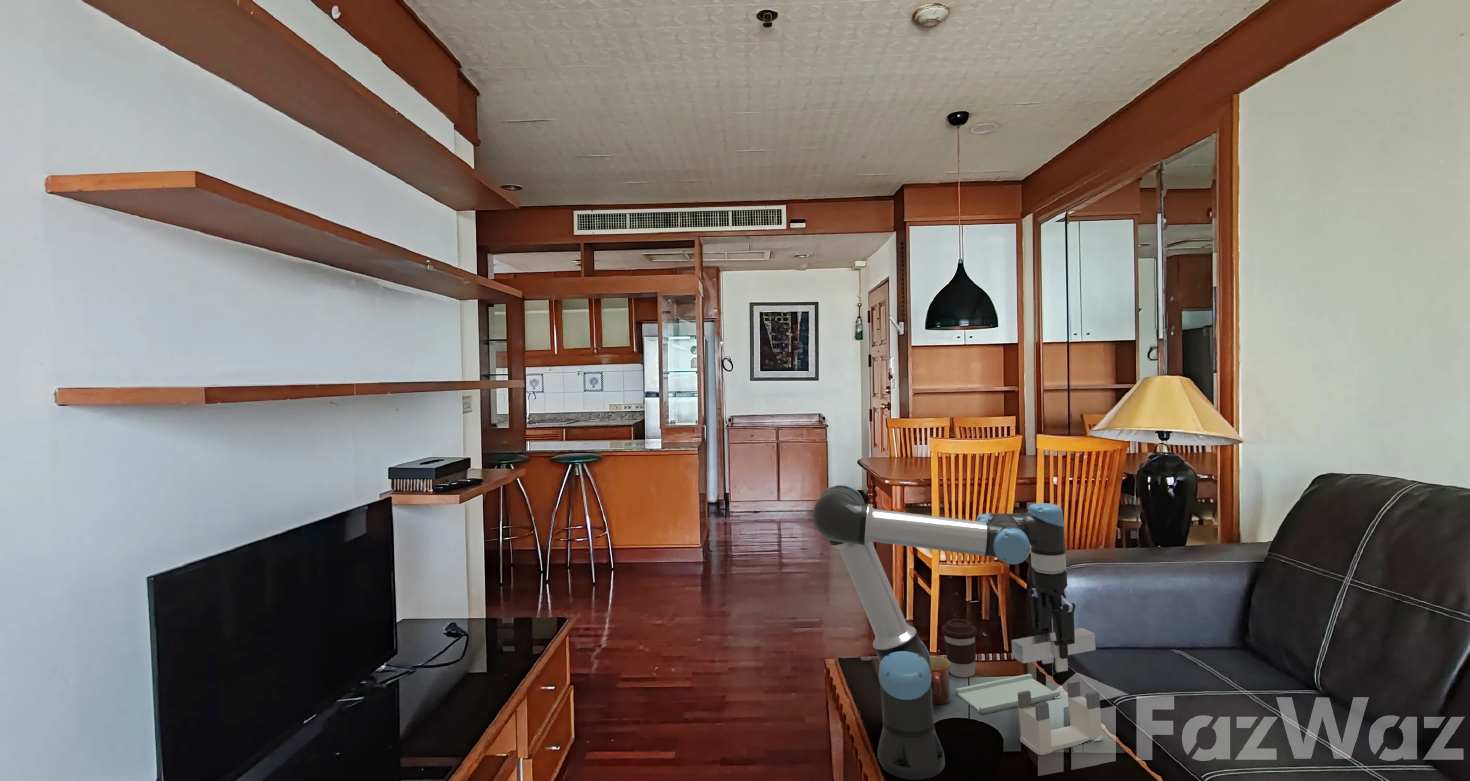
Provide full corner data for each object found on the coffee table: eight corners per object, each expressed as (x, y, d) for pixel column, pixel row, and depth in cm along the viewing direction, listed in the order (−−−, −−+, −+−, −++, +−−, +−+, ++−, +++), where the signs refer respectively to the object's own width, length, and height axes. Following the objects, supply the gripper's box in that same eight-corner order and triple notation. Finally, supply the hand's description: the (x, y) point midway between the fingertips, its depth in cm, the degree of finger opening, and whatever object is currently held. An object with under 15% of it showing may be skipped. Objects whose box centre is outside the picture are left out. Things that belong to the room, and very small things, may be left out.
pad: (981, 714, 171) (981, 708, 171) (956, 694, 183) (955, 688, 183) (1060, 697, 177) (1059, 691, 177) (1030, 678, 189) (1030, 673, 189)
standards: (1039, 755, 152) (1035, 706, 151) (1019, 740, 158) (1015, 692, 158) (1104, 739, 156) (1100, 691, 156) (1082, 725, 163) (1078, 679, 162)
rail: (1023, 663, 153) (1022, 646, 153) (1012, 656, 157) (1011, 639, 157) (1095, 649, 157) (1094, 633, 157) (1083, 643, 161) (1082, 627, 161)
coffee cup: (956, 662, 203) (953, 614, 203) (986, 671, 195) (982, 621, 195) (938, 673, 196) (934, 623, 196) (968, 683, 189) (964, 631, 189)
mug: (919, 691, 186) (916, 655, 186) (951, 692, 184) (948, 655, 184) (922, 712, 174) (919, 674, 174) (957, 713, 173) (954, 675, 172)
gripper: (1089, 576, 149) (1095, 678, 150) (1038, 558, 166) (1043, 650, 166) (1061, 581, 148) (1067, 684, 148) (1012, 562, 164) (1017, 654, 164)
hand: (1054, 666), depth 157 cm, fingers closed on rail, 4 cm apart
